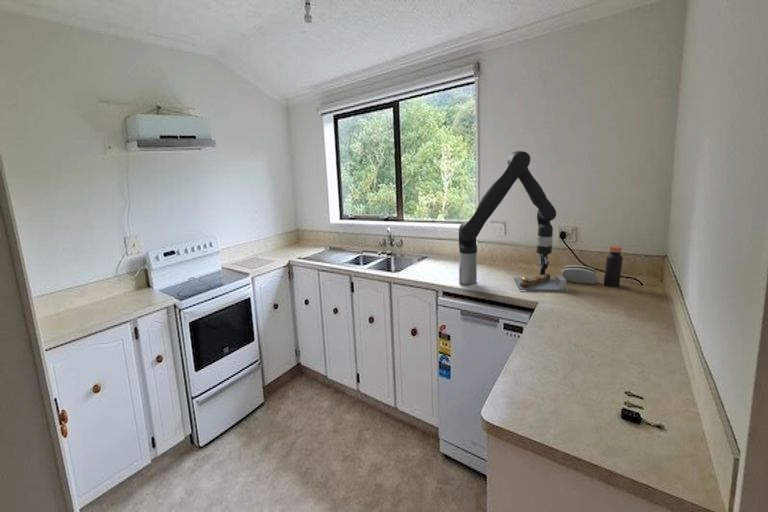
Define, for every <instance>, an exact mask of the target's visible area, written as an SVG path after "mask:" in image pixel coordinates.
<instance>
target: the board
mask: <svg viewBox="0 0 768 512" xmlns="http://www.w3.org/2000/svg"><path fill="white" fill-rule="evenodd" d="M522 278H523V277H516V276H515V277H514V278H513V281H514V283H515V285H516V286H518V287H517V289H518V288H519V289H518V291H519V290H526V291H525V292H539V291H546V292H548V293H549V292H550V293H552V292H553V293H568V289H567V288H566V290H561V289H558V287H559V282H558V280H557V279H556V277H550V280H547V281H544V282H541V283H537V284H534V285H530V286H529V287H521V286H520V281H521V280H522ZM527 278H528V279H530V278H531V277H527ZM546 292H545V293H546Z"/></svg>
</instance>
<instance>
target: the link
mask: <svg viewBox="0 0 768 512" xmlns="http://www.w3.org/2000/svg"><path fill="white" fill-rule="evenodd" d="M529 278H530V279H528V281H526V282H525V281H522V280H521V281H520V286H521V287H529V286H530V285H534V284H537V283H541V282H544V281H547V280H550V278H551V274H549V273H545V274H544V275H540V274H539V275H538V276H534V277H529Z"/></svg>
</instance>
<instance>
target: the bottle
mask: <svg viewBox="0 0 768 512" xmlns="http://www.w3.org/2000/svg"><path fill="white" fill-rule="evenodd" d="M609 252H610V253H609V254H607V256H606V259H605V268H604V269H605V270H604V279H603V285H604V286H606V287H608V288H619V287H620V284H621V283H620V282H621V276H622V275H621V274H622V267H623V260H624V258H623V255H621V253H622V246H620V245H619V246H618V245H611V246H610V247H609Z"/></svg>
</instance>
